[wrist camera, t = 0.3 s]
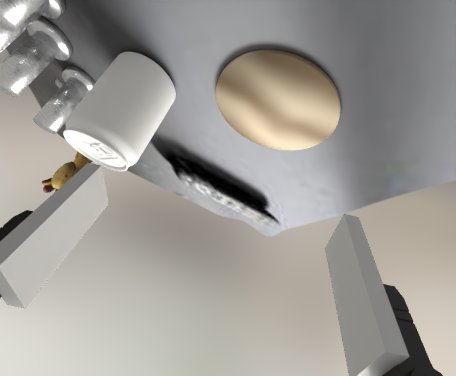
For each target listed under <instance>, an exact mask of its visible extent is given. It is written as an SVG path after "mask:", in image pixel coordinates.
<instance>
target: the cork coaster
mask: <svg viewBox="0 0 456 376" xmlns="http://www.w3.org/2000/svg"><path fill="white" fill-rule="evenodd" d="M216 100H217V105H218V107H219V110H220V112H221V114H222V115H223V117H224V118H225V120H226V121H227V122H228V123H229V125H230V126H231V127H232V128H233V129H234V130H236V131H237V132H238V133H239V134H241V135H242V136H244V137H245V138H247V139H249V140H250V141H253V142H255V143H257V144H259V145H262V146H265V147H269V148H273V149H279V150H300V149H306V148H309V147H312V146H315V145H317V144H319V143H321V142H322V141H324V140H325V139H327V138H328V137H329V136H330V135H331V134H332V132H333V131H334V130H335V128H336V126H337V123H338V120H339V117H340V110H341V103H340V98H339V94H338V91H337V89H336V87H335V85H334V84H333V82H332V80H331V79H330V78H329V77H328V76H327V74H326V73H325V72H324V71H322V70H321V69H320V68H319V67H318V66H316V65H315V64H313V63H312V62H310V61H309V60H307V59H305V58H303V57H301V56H298V55H295V54H293V53H289V52H285V51H280V50H257V51H252V52H248V53H245V54H243V55H241V56H239V57H237V58H235V59H234V60H232V61H231V62H230V63H229V64H228V65H227V66H226V67H225V68H224V70H223V71H222V73H221V75H220V77H219V79H218V81H217V85H216Z"/></svg>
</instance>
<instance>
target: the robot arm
mask: <svg viewBox="0 0 456 376" xmlns="http://www.w3.org/2000/svg"><path fill="white" fill-rule="evenodd" d="M107 205H108V198H107V192H106V187H105V181H104V176H103V170H102V166H101V165H96V164H91V163H87V164H86V165H85V166H84V167H83V168H82V169H81V170H79V171H78V172H77V173H76V174H75V175H74V176H73V177H72V178H70V179H69V180H68V181H67V182H66V183H65V184H64V185H63V186H62V187H60V188H59V189H58V190H57V191H56V192H55V193H54V194H53V195H52V196H50V197H49V198H48V199H47V200H46V201H45V202H44V203H43V204H42V205H40V206H39V207H38V208H37V209H36V210H35V211H34V212H33V211H28V210H26V211H24V212H22V213H20V214H18V215H16V216H14V217H13V218H12V219H11V220H9V221H8V222H7V223H6V224H5V225H4V226H3V227H1V228H0V298H1V297H2V298H3V299H4V301H5V302H6V304H8V305H12V306H16V307H21V308H26V307H27V305H28V304H29V303H30V302H31V300H32V299H33V298H34V297H35V295H36V294H37V293H38V292H39V290H40V289H41V288H42V286H43V285H44V284H45V283H46V282H47V280H48V279H49V278H50V277H51V275H52V274H53V273H54V272H55V270H56V269H57V268H58V266H59V265H60V264H61V263H62V262H63V260H64V259H65V258H66V257H67V255H68V254H69V253H70V252H71V250H72V249H73V248H74V247H75V245H76V244H77V243H78V242H79V240H80V239H81V238H82V237H83V235H84V234H85V233H86V231H87V230H88V229H89V228H90V227H91V225H92V224H93V223H94V221H95V220H96V219H97V218H98V217H99V215H100V214H101V213H102V212H103V210H104V209H105V208H106V207H107ZM325 251H326V256H327V261H328V266H329V272H330V277H331V283H332V288H333V293H334V299H335V303H336V309H337V314H338V320H339V324H340V330H341V335H342V341H343V346H344V351H345V357H346V362H347V367H348V373H349V376H443V375H442V374H441V373H440V372H438V371H436V370H435V369H434V368H433V367H432V364H431V363H430V360H429V358H428V355H427V353H426V351H425V348H424V346H423V343H422V341H421V339H420V336H419V334H418V331H417V329H416V327H415V325H414V324H413V319H412V317H411V315H410V313H409V310H408V307H407V305H406V303H405V300H404V298H403V297H402V295H401V294H400V293H399V292H398V290H397V289H396V288H395V287H394V286H390V285H385V284H383V283H382V280H381V277H380V274H379V272H378V269H377V267H376V264H375V261H374V258H373V255H372V253H371V250H370V247H369V244H368V242H367V239H366V236H365V233H364V231H363V228H362V225H361V222H360V220H359V218H358V217H356V216H351V215H346V214H344V215H343V217H342V219H341V220H340V222H339V224H338V226H337V228H336V229H335V231H334V233H333V235H332V237H331V238H330V240H329V242H328V244H327V246H326V248H325Z"/></svg>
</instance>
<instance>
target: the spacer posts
mask: <svg viewBox="0 0 456 376" xmlns="http://www.w3.org/2000/svg"><path fill="white" fill-rule="evenodd" d="M65 9H66V4H65V0H0V52H2V51H3V50H4V49H5V48H6V47H7V46H8V45H9V44H10V43H11V42H13V41H14V40H15V39H16V38H17V37H18V36H19V35H20V34H21V33H22V32H24V31H25V30H26V29H27V30H28V32H29V34H30V37H29V38H28V39H27V40H26V41H25V42H24V43H23V44H22V45H21V46H20V47H19V48H18V49H16V50H15V51H14V52H13V53H12V54H11V55H10V56H9V57H8V58H7V59H6V60H5V61H4V62H3V63H2V64H0V89H1V90H2V91H4V92H5V93H7V94H9V95H11V96H14V97H18V96H19V95H20V94H21V93H22V91H24V89H25V88H26V87H27V86H28V85H29V84H30V83H31V82H32V81H33V80H34V79H35V78H36V77H37V76H38V75H39V74H40V73H41V72H42V71H43V70H44V69H45V68H46V66H47V65H48V64H49V63H50V62H51V61H52V60H53V59H54V58H56V59H59V60H67V59H68V58H69V57H70V56H71V54H72V53H73V48H72V45H71V43H70V41H69V40H68V38H67V37H66V36H65V35H64V33H63V32H62V31H61V30H60V29H59V28H58V27H56V26H55V25H54V24H52V23H51V22H50V21H48V20H46V19H44V18H41V17H40V16H41V15H43V16H45V17H48V18H51V19H56V18H58V17H59V16H60V15H61V14H62V13H63V12H64V11H65ZM62 77H63V79H64V81H65V83H64V84H63V85H62V87H61V88H60V89H59V90H58V91H57V92H56V93H55V95H54V96H53V97H52V98H51V99H50V100H49V101H48V102H47V104H46V105H45V106H44V107H43V108H42V109H41V110H40V112H39V113H38V114H37V115H36V116H35V117H34V119H33V120H34V122H35V123H36V124H37V125H38V126H40V127H41V128H42V129H44V130H46V131H48V132H50V133H53V134H56V133H57V132H58V130H59V129H60V128H61V127H62V125H63V124H64V123H65V122H66V120H67V118H68V117H69V115H70V114H71V113H72V112H73V110H74V109H75V108H76V107H77V105H78V104H79V103H80V102H81V100H82V99H83V98H84V97H85V96H86V94H87V93H88V92H89V91H90V89H91V88H92V87H93V86H94V84H95V83H96V82H95V81H94V80H93V79H92V78H91V77H90V76H89V75H88V74H87V73H85V72H84V71H82V70H81V69H79V68H76V67H73V66H68V67H67V68H66V69H65V70H64V71H63V72H62Z"/></svg>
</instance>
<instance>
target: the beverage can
mask: <svg viewBox="0 0 456 376" xmlns="http://www.w3.org/2000/svg"><path fill="white" fill-rule="evenodd" d="M175 96H176V93H175V88H174V85H173V83H172V81H171V79H170V77H169V76H168V75H167V73H166V72H165V71H164V70H163V69H162V68H161V67H160V66H159V65H158V64H157V63H155V62H154V61H153V60H151V59H149V58H148V57H146V56H144V55H141V54H139V53H135V52H123V53H121V54H119V55H118V56H117V57H116V59H115V60H114V61H113V62H112V63H111V65H110V66H109V67H108V68H107V70H106V71H105V72H104V73H103V75H102V76H101V77H100V78H99V80H98V81H97V82H96V83H95V84H94V86H93V87H92V88H91V89H90V91H89V92H88V93H87V94H86V96H85V97H84V98H83V99H82V100H81V102H80V103H79V104H78V105H77V107H76V108H75V109H74V110H73V112H72V113H71V114H70V115H69V117H68V118H67V120H66V129H65V131H64V132H63V135H64V137H65V139H66V140H67V142H68V143H69V144H70V145H71V146H72V147H73V148H75V149H76V150H77V151H78V152H80V153H81V154H82V155H84V156H85V157H87V158H88V159H90V160H92V161H94V162H95V163H97V164H99V165H101V166H104V167H106V168H109V169H112V170H115V171H125V170H127V168H128V167H129V166H132V165H134V164H135V163H136V162H137V161H138V159H139V158H140V156H141V154H142V153H143V151H144V149H145V148H146V146H147V144H148V143H149V141H150V140H151V138H152V136H153V135H154V133H155V131H156V130H157V128H158V126H159V125H160V123H161V121H162V120H163V118H164V117H165V115H166V113H167V112H168V110H169V108H170V107H171V105H172V103H173V102H174V100H175Z"/></svg>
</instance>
